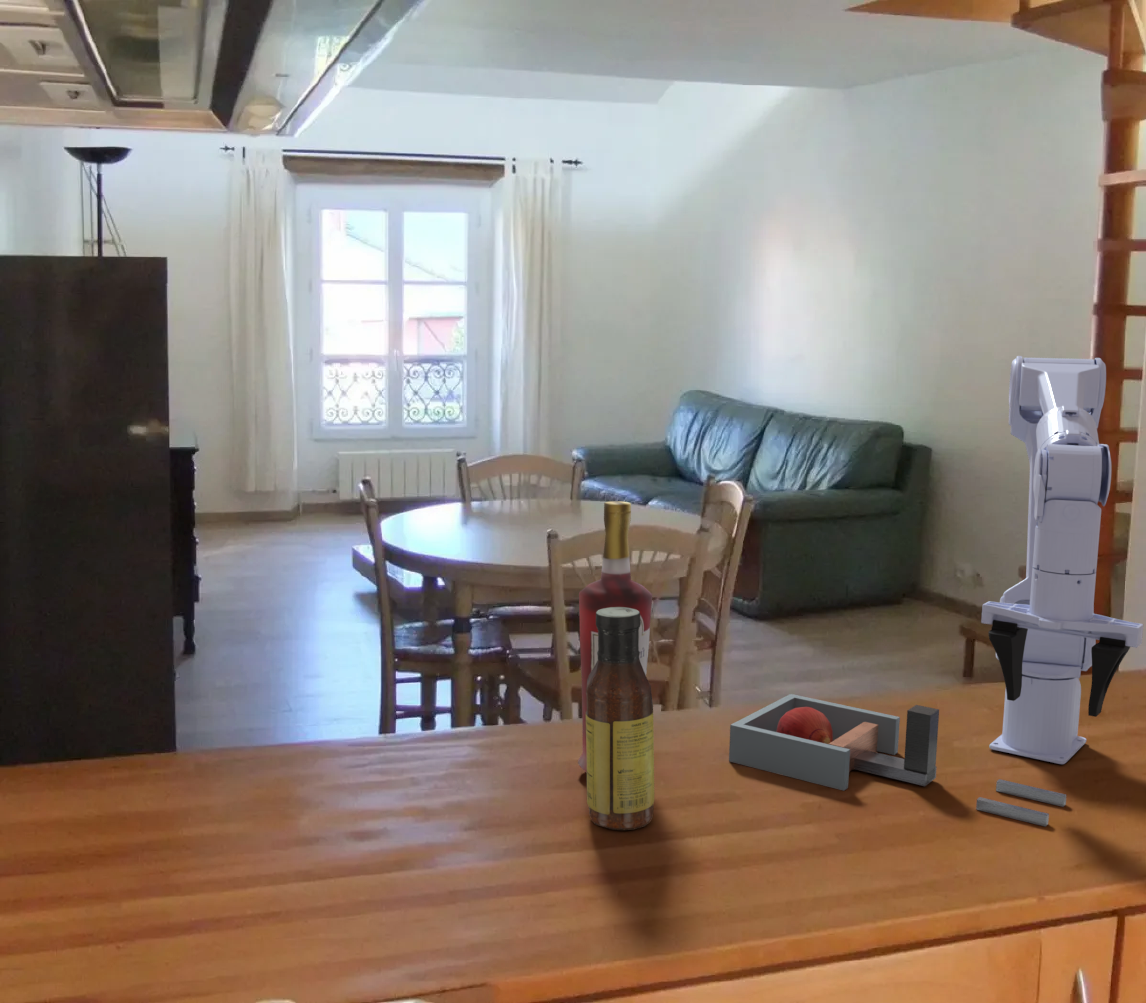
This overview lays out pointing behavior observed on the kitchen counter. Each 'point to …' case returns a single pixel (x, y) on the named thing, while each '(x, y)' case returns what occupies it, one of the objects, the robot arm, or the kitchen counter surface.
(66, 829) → the kitchen counter surface
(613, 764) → the sauce bottle
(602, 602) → the liquor
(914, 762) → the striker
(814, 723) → the onion
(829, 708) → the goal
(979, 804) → the rail
